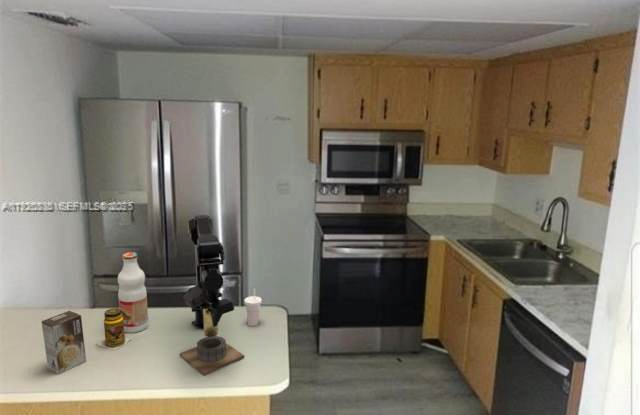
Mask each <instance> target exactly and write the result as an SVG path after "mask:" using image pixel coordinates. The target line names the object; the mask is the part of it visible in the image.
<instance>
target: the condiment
mask: <svg viewBox="0 0 640 415" xmlns="http://www.w3.org/2000/svg"><path fill="white" fill-rule="evenodd" d="M103 314H104V319H103V325H104V338H105V339H103V340H101V341H100V342H99V343H97V344H96V346H97V347H102V348H106V349H110V350H115V351H117V350H118V349H119V348H121V347H123V346H124V345H126V344H128V342H130V341H131V339H132V338H126V336H125V335H126V334H125V333H126V332H124V321H123V317H122V314H121V310H120V309H119V307H118V308H117V307H116V308H115V307H114V308H109V309H106V310H105V311H104V313H103Z"/></svg>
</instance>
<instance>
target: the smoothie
mask: <svg viewBox="0 0 640 415" xmlns="http://www.w3.org/2000/svg"><path fill="white" fill-rule="evenodd" d="M262 300H263V299H262V298H261V297H260V296H256V288H253V296H252V295H251V296H247V297H246V298H245V299H244V304H245V310H246V318H247V324H248V325H249V326H251V327H255V326H258V325H259V321H260V320H259V318H260V312H261V304H262V303H263V301H262Z"/></svg>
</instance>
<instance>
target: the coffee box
mask: <svg viewBox="0 0 640 415" xmlns="http://www.w3.org/2000/svg"><path fill="white" fill-rule="evenodd" d="M41 327H42V335H43V341H44V350H45V356H46V357H45V358H46V364H47V369H49V370H51V371H53V372H54V373H56V374H58V375H60V374H62V373H64V372H66V371H69V370H70V369H72V368H75V367H77V366H78V365H81V364H83V363H85V362H87V356H86V347H85V338H84V328H83V322H82V315H81V314H78V313H77V312H73V311H72V310H68V311H65V312H62V313H59V314H57V315H55V316H51V317H50V318H47V319H44V320H41Z"/></svg>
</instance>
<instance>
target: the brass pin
mask: <svg viewBox="0 0 640 415" xmlns="http://www.w3.org/2000/svg"><path fill="white" fill-rule="evenodd" d="M208 309H211V305H207V306H205V307H204V308H203V316H204V328H203V335H204V336H205V337H214V336H218V335H219V323H218V324H217V326H216V327H213V323H212V316H211V313H210V312H209V311H208Z"/></svg>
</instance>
